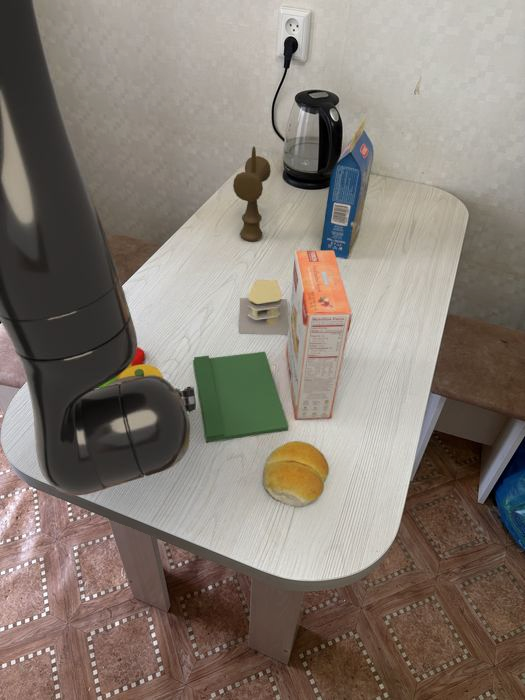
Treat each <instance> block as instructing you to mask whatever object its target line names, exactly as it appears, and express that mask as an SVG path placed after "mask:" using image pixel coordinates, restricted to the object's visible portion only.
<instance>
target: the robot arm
mask: <svg viewBox="0 0 525 700" xmlns="http://www.w3.org/2000/svg"><path fill="white" fill-rule="evenodd" d="M35 8H36V7H35V3H34V0H0V322H1V325H2V327H3V329H4V332H5V333H6V335H7V337H8V339H9V342H10V344H11V345H12V347H13V349H14V351H15V354H16V355H17V358H18V360H19V362H20V365H21V367H22V370H23V374H24V376H25V380H26V383H27V388H28V391H29V396H30V402H31V407H32V414H33V427H34V441H35V443H34V444H35V452H36V458H37V459H36V460H37V463H38V467H39V470H40V472H41V475H42V477H43V478H44V480H45V481H46V482H47V483H48V484H49V485H50V486H51V487H53V488H54V489H56V490H57V491H58V492H61V493H63V494H65V495H69V496H78V497H79V496H85V495H86V496H87V495H90V494H94V493H97V492H100V491H104V490H107V489H110V488H113V487H116V486H120V485H123V484H126V483H130V482H132V481H136V480H140V479H143V478H144V477H149V476H153V475H156V474H159V473H163V472H165V471H167V470H169V469H171V468H172V467H174V466H176V465H177V464H178V463H179V462H180V461H181V460H182V459H183V458H184V456H185V455H186V453H187V451H188V449H189V444H190V438H191V423H190V418H189V414H188V413H191V412H194V411H196V410H197V401H196V393H195V387H192V386H187V387H186V388H184V389H182V390H181V389H180V388H177V387H174V386H173V385H172V384H171V383H170V382H169V381H168V380H167V379H165V378H164V377H163V378H162V377H160V376H156V375H148V376H143V377H142V376H128V377H124V378H121V379H117V380H115V381H113V382H111V383H109V384H108V385H107V386H105V387H102V388H99V387H100V386H101V385H103V384H105V383H107V382H108V381H110V380H112V379H114V378H115V377H116V376H118V375H119V374H120V373H122V372H123V371H124V370H125V369H126V368H127V367H128V366H129V365H130V363H131V362H132V361H133V359H134V357H135V355H136V351H137V347H138V337H137V331H136V328H135V325H134V321H133V318H132V314H131V312H130V308H129V305H128V302H127V298H126V295H125V291H124V289H123V285H122V281H121V278H120V274H119V272H118V269H117V265H116V262H115V258H114V256H113V253H112V249H111V247H110V244H109V241H108V238H107V234H106V233H105V232H106V231H105V230H104V227H103V224H102V221H101V218H100V216H99V212H98V211H97V207H96V205H95V203H94V199H93V197H92V194H91V191H90V188H89V186H88V184H87V183H88V182H87V180H86V177H85V175H84V171H83V168H82V166H81V164H80V161H79V158H78V155H77V153H76V150H75V149H76V148H75V146H74V143H73V141H72V138H71V136H70V132H69V129H68V126H67V123H66V120H65V117H64V114H63V111H62V108H61V105H60V101H59V97H58V95H57V91H56V88H55V84H54V81H53V77H52V74H51V70H50V66H49V63H48V59H47V55H46V51H45V47H44V42H43V39H42V35H41V31H40V26H39V21H38V17H37V14H36V9H35Z"/></svg>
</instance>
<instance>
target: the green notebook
mask: <svg viewBox="0 0 525 700" xmlns="http://www.w3.org/2000/svg"><path fill="white" fill-rule="evenodd" d="M192 364H193V371H194V377H195V383H196V389H197V395H198V402H199V407H200V413H201V419H202V426H203V432H204V438H205V443H211V442H218V441H225V440H233V439H239V438H244V437H246V438H247V437H251V436H258V435H265V434H273V433H278V432H285V431H289V424H288V421H287V419H286V418H287V417H286V414H285V411H284V408H283V405H282V402H281V398H280V395H279V392H278V390H277V389H278V388H277V386H276V383H275V380H274V377H273V372H272V370H271V366H270V363H269V360H268V357H267V354H266V351H259V352H249V353H241V354H240V353H239V354H233V355H224V356H218V357H217V356H216V357H210V356H209V355H201V356H194V357H193V359H192Z"/></svg>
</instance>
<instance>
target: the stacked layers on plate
mask: <svg viewBox="0 0 525 700" xmlns="http://www.w3.org/2000/svg"><path fill="white" fill-rule="evenodd" d="M288 307H289V306H288V299H287V298H283V293H282V289H281V286H280V283H279V280H278V279H255V280H254V283H253V285H252V286H251V288H250V290H249V292H248V294H247V297H240V298H239V309H238V310H239V311H238V315H239V316H238V334H249V335H250V334H253V335H254V334H256V335H288V329H289V308H288Z"/></svg>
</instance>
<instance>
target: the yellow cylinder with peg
mask: <svg viewBox="0 0 525 700" xmlns="http://www.w3.org/2000/svg"><path fill="white" fill-rule="evenodd" d="M148 375H156V376H160V377H162V378H164V377H163V374H162V372H161V371H160V369H158V368H157V367H155V366H154V365H150V364H144V363H142V364H141V365H135V366H132V367H130V368H128V369H126V370H125V371H124V372H123V373H122V374H121V375H120V377H119V379H121V378H124V377H128V376H142V377H143V376H148Z"/></svg>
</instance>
